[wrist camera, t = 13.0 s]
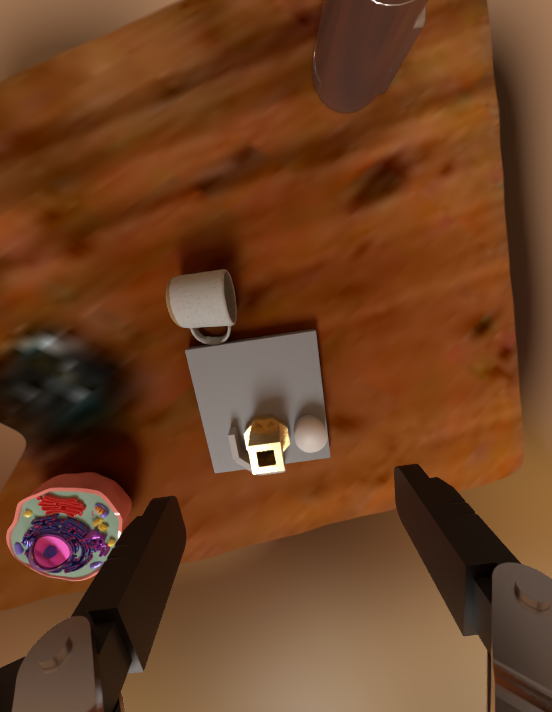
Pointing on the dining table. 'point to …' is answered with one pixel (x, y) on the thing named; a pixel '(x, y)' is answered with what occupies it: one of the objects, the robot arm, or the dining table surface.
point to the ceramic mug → (203, 302)
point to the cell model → (69, 525)
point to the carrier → (260, 395)
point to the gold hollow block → (266, 443)
